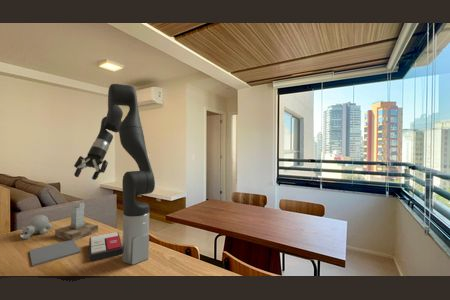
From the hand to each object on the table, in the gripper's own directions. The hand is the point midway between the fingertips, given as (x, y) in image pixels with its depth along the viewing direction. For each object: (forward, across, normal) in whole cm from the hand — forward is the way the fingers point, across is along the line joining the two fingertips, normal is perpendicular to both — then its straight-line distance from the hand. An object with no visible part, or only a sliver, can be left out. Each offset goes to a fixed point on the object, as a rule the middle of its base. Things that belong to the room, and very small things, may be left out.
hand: (84, 177), depth 101 cm
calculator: (+29, +24, -2) cm, 38 cm away
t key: (+24, +2, +10) cm, 26 cm away
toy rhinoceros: (+28, -15, +10) cm, 33 cm away
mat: (+32, +6, -4) cm, 33 cm away
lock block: (+24, +2, +10) cm, 26 cm away
